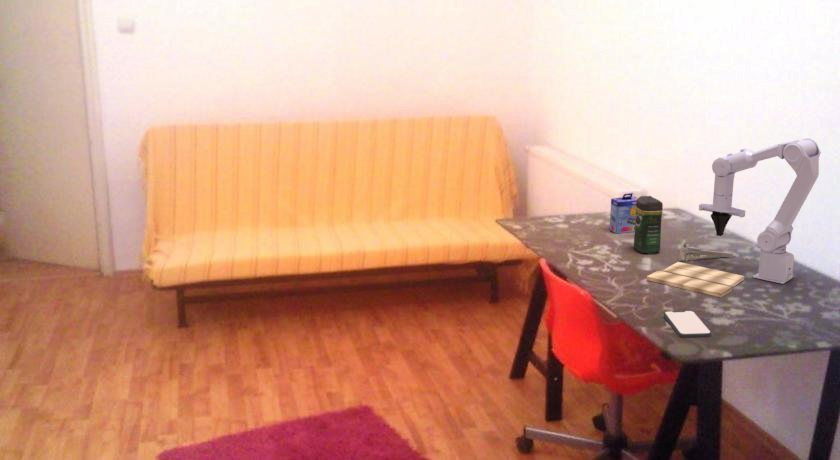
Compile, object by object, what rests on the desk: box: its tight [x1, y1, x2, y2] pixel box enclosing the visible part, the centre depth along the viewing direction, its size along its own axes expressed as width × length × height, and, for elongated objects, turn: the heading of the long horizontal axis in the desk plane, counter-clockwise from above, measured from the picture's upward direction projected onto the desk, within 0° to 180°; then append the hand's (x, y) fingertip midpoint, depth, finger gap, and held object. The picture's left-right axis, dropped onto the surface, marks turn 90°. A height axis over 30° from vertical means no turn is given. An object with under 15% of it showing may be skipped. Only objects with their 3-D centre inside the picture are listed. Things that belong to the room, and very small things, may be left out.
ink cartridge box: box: [609, 192, 639, 234], centre depth 325 cm, size 10×6×14 cm, turn 107°
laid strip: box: [646, 269, 734, 298], centre depth 269 cm, size 24×8×1 cm, turn 47°
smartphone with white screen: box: [663, 310, 713, 338], centre depth 239 cm, size 9×2×16 cm
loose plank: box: [663, 261, 745, 288], centre depth 276 cm, size 22×10×1 cm, turn 47°
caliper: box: [678, 243, 737, 263], centre depth 293 cm, size 20×1×6 cm, turn 103°
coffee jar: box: [633, 195, 664, 255], centre depth 301 cm, size 10×8×19 cm
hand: (719, 235), depth 286 cm, fingers closed
